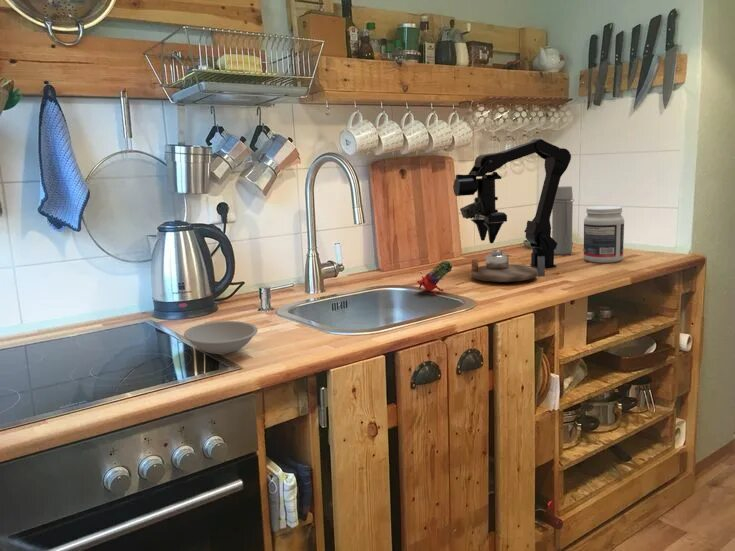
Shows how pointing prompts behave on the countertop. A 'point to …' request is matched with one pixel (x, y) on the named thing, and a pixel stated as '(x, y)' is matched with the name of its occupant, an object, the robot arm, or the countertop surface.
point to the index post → (541, 265)
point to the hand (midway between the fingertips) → (487, 241)
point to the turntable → (503, 273)
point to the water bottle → (562, 220)
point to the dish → (221, 336)
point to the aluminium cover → (497, 260)
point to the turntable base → (503, 282)
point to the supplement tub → (603, 234)
